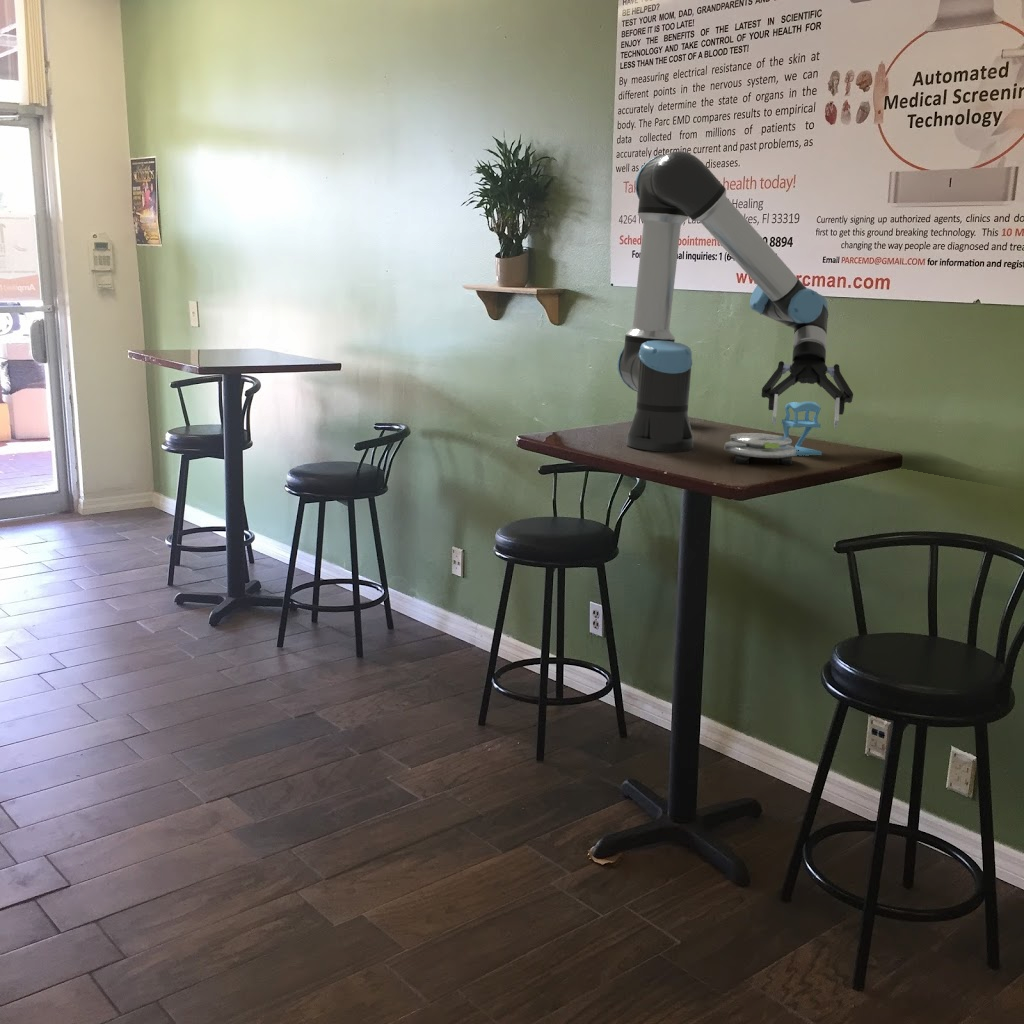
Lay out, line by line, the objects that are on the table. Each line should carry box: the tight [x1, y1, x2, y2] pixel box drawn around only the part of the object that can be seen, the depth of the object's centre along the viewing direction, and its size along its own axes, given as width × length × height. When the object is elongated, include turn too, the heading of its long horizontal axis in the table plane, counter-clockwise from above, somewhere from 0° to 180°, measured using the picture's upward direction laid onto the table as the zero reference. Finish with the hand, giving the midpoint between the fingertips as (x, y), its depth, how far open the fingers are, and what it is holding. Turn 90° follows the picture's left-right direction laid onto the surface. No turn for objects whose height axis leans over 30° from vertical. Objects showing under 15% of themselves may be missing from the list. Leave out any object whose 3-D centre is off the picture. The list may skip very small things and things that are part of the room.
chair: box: [781, 400, 823, 457], centre depth 241 cm, size 8×8×12 cm
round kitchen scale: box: [724, 432, 797, 466], centre depth 229 cm, size 15×15×5 cm
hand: (805, 422), depth 241 cm, fingers open, 13 cm apart
